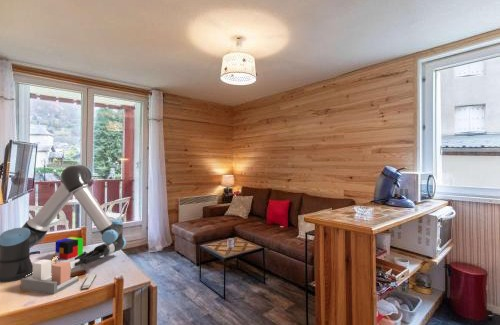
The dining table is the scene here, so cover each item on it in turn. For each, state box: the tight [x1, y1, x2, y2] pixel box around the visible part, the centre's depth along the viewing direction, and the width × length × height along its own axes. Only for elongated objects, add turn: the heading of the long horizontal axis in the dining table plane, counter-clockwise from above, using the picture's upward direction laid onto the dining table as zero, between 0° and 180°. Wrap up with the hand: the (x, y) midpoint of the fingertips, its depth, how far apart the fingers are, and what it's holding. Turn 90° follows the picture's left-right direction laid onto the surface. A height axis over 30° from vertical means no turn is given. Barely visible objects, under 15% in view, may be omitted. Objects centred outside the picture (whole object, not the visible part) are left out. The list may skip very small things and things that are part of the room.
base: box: [20, 274, 80, 295], centre depth 122 cm, size 13×18×5 cm
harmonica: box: [80, 274, 97, 291], centre depth 125 cm, size 15×3×2 cm, turn 19°
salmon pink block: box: [51, 260, 72, 285], centre depth 121 cm, size 6×5×9 cm
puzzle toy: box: [54, 236, 84, 260], centre depth 159 cm, size 10×10×10 cm
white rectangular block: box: [31, 258, 53, 280], centre depth 123 cm, size 6×5×9 cm
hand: (67, 266), depth 124 cm, fingers closed
